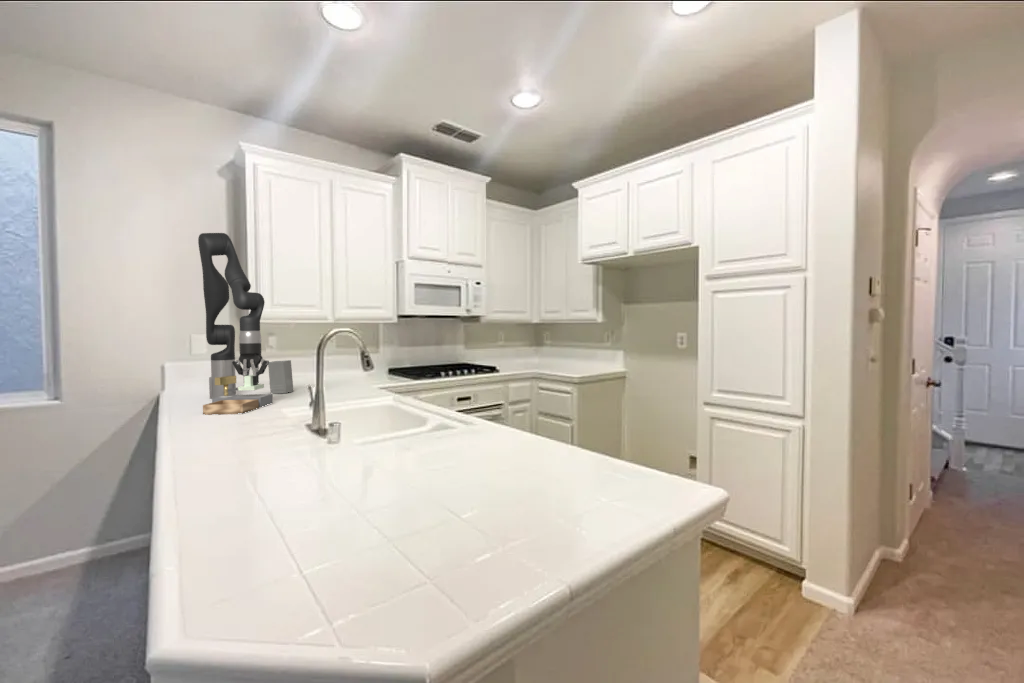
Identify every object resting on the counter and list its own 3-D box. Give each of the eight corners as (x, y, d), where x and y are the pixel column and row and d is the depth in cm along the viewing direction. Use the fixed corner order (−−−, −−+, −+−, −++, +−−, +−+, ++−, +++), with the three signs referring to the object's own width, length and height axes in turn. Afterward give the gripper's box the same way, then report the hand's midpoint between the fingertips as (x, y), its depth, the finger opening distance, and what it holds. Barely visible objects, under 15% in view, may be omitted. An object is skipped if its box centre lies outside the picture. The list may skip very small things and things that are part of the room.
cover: (238, 390, 171) (237, 376, 171) (248, 387, 179) (248, 374, 179) (254, 390, 172) (253, 376, 172) (264, 387, 180) (263, 374, 180)
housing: (212, 408, 169) (212, 398, 169) (227, 404, 179) (226, 394, 179) (260, 407, 171) (260, 397, 171) (272, 403, 181) (272, 393, 181)
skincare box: (293, 392, 217) (293, 360, 216) (284, 394, 209) (284, 361, 209) (277, 391, 217) (276, 360, 217) (268, 394, 210) (267, 361, 210)
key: (220, 397, 170) (220, 377, 170) (215, 397, 171) (214, 377, 171) (243, 392, 182) (242, 374, 182) (238, 392, 182) (237, 374, 182)
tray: (203, 414, 157) (202, 405, 157) (221, 409, 169) (221, 400, 169) (242, 413, 158) (242, 404, 158) (258, 408, 170) (258, 399, 170)
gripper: (226, 342, 171) (227, 386, 171) (264, 342, 172) (265, 386, 172) (237, 342, 178) (238, 384, 179) (272, 341, 179) (273, 383, 180)
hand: (251, 385), depth 176 cm, fingers closed on cover, 2 cm apart
